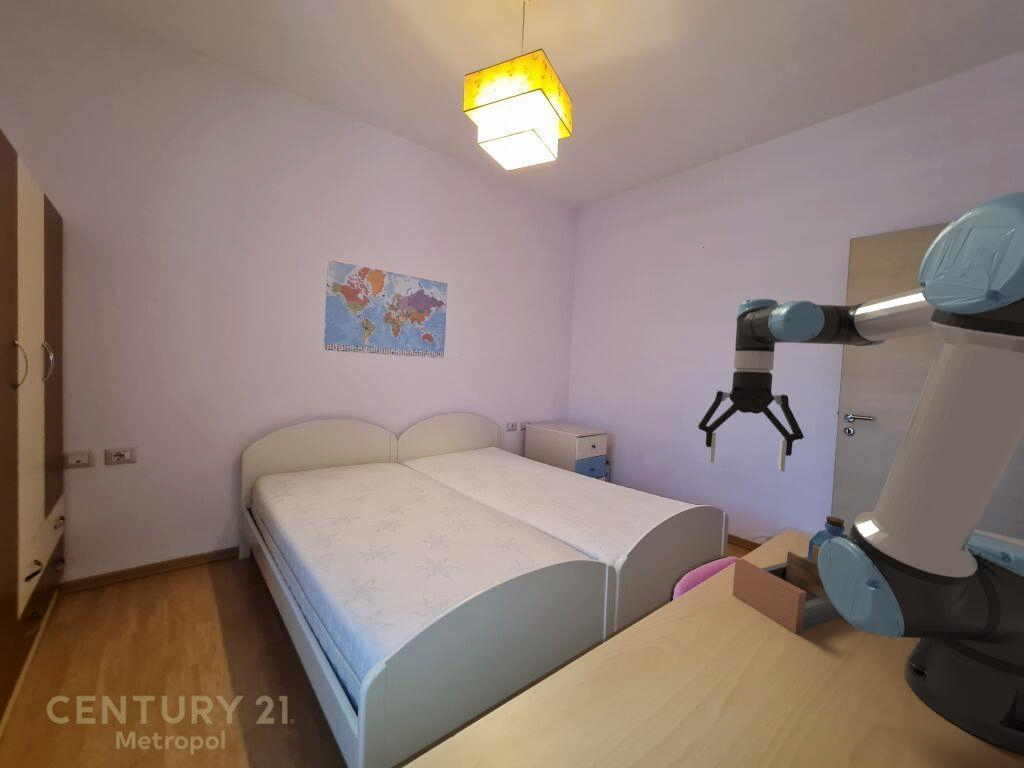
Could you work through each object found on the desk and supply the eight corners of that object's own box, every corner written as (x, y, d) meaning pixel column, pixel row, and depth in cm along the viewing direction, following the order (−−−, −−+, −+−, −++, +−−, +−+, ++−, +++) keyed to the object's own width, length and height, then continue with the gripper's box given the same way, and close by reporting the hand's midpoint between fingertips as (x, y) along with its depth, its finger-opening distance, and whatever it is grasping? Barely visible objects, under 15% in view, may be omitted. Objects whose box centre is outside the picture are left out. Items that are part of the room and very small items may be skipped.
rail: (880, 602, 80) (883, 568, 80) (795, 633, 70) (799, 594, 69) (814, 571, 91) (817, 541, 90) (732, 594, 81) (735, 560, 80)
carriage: (870, 592, 81) (873, 563, 81) (833, 604, 76) (836, 573, 76) (820, 569, 89) (823, 543, 89) (785, 579, 85) (787, 551, 84)
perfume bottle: (806, 567, 93) (811, 515, 92) (822, 562, 96) (827, 512, 95) (837, 581, 88) (843, 526, 87) (853, 575, 90) (859, 522, 89)
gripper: (815, 373, 89) (807, 469, 90) (691, 368, 99) (685, 454, 100) (826, 374, 82) (817, 478, 83) (691, 368, 92) (685, 461, 93)
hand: (745, 465), depth 92 cm, fingers open, 13 cm apart
